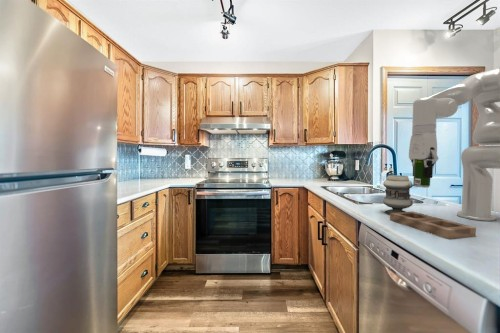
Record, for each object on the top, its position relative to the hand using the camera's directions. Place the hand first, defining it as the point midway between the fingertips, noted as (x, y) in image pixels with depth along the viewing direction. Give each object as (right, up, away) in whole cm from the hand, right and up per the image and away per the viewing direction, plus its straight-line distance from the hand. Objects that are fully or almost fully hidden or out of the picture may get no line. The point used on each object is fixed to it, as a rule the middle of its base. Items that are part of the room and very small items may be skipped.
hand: (422, 176), depth 95 cm
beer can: (0, -4, 0) cm, 4 cm away
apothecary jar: (+2, -19, +19) cm, 27 cm away
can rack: (+1, -19, -2) cm, 20 cm away
